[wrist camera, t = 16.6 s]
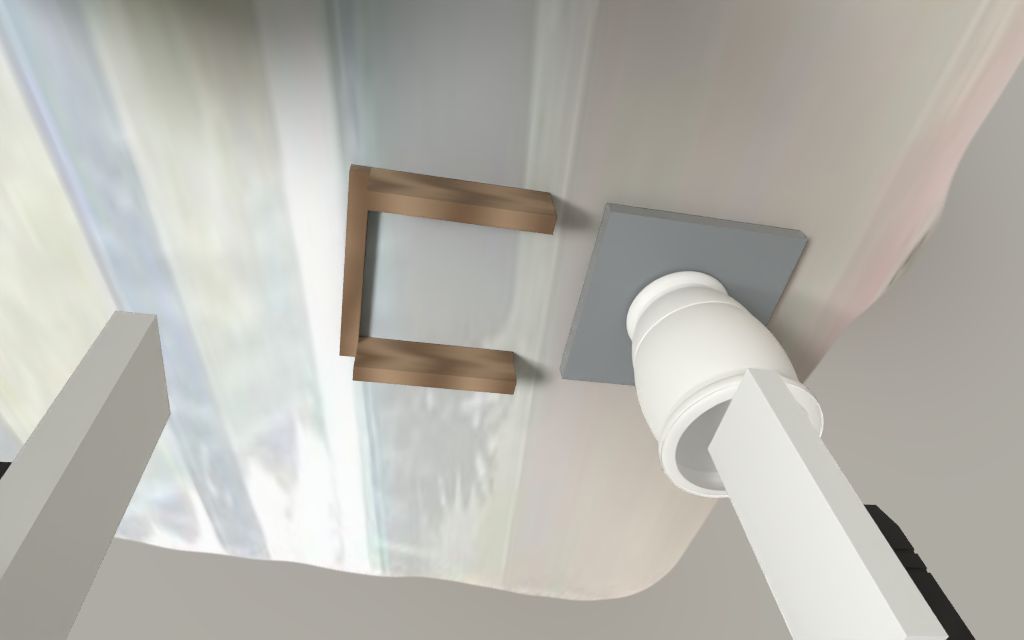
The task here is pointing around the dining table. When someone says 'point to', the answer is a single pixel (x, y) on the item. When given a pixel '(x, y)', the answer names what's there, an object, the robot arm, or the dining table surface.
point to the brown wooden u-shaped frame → (442, 203)
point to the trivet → (656, 253)
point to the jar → (699, 370)
